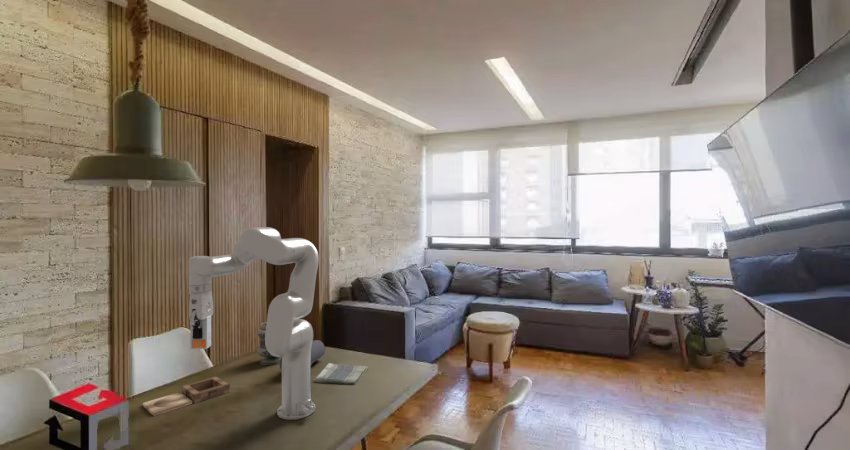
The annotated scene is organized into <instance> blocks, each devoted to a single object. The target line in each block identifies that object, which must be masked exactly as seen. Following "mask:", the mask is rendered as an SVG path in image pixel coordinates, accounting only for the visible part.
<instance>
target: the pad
mask: <svg viewBox="0 0 850 450" xmlns="http://www.w3.org/2000/svg"><path fill="white" fill-rule="evenodd" d="M192 404H193V402H192V401H191V400H190V399H189V398H187V397H186V396H185V395H183V394H182V391H181V392H180V391H178V392H174V393H172V394H168V395H165V396H161V397H158V398H155V399H151V400H148V401H145V402H142V406H143V408H145V409H146V411H148V412H149V413H150V414H151V415H152V416H153V417H156V416H159V415H161V414H165V413H168V412H171V411H174V410H177V409H180V408H184V407H186V406H189V405H192Z"/></svg>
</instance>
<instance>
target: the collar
mask: <svg viewBox="0 0 850 450" xmlns="http://www.w3.org/2000/svg"><path fill="white" fill-rule="evenodd" d="M230 387H231V385H230V383H228V382H226V381H224V379H221V378H219V377H218V376H212V377H207V378H204V379H202V380H198V381H194V382H191V383H188V384H183V385H181V393H182V394H183V395H185V396H186V397H187V398H189V399H190V400H191V401H192V403H194V404H196V403H199V402H203V401H206V400H209V399H213V398H216V397H218V396H222V395H224V394H228V393H230V390H231V388H230Z"/></svg>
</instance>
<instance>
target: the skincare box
mask: <svg viewBox="0 0 850 450" xmlns="http://www.w3.org/2000/svg"><path fill="white" fill-rule="evenodd" d="M195 320H199V319H198V318H196V319H195ZM196 322H197V323H198V324H199V321H196ZM189 324H190V323H189ZM201 328H202V339H193V329H192V325H191V324H190V328H189V330H190V331H189V332H190V335H189V337H190V340H189V341H190V343H189V344H190V350H207V349H209V348H210V347H211V346H212V316H211V315H210V316H208V317H206V319H205V320H202V324H201Z"/></svg>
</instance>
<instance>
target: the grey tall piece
mask: <svg viewBox="0 0 850 450" xmlns="http://www.w3.org/2000/svg"><path fill="white" fill-rule="evenodd" d="M266 325H267V321H266V322H262V323H261V324H260V328H259V329H258V330H257V331H256V333H257V336H258V337H259V346H258V348H257V350H256V353H257V354H258V355H259V356H260V357H263V359H261V360H260V362H259V365H264V366H271V365H272V366H273V365H277V364H280V360H281V358H282V356H279V357H277V356H273V355H271V354H270V353H269V352H268V351H267V348H266V345H265V333H266Z"/></svg>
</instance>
